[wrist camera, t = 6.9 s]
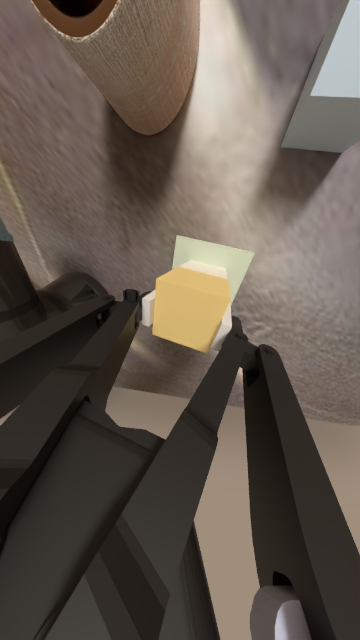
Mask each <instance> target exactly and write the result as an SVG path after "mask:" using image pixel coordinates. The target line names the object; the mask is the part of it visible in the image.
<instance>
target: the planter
mask: <svg viewBox="0 0 360 640" xmlns="http://www.w3.org/2000/svg"><path fill="white" fill-rule="evenodd" d="M30 2H31V3H32V5H33V6H34V8H35V10H36V11H37V12H38V14H39V15H40V16H41V18H42V19H43V20H44V22H45V23H46V24H47V26H48V27H49V28H50V29H51V31H52V32H53V33H54V34H55V35H56V37H57V38H58V39H59V40H60V42H61V43H62V44H63V45H64V47H65V48H66V49H67V50H68V52H69V53H70V54H71V55H72V57H73V58H74V59H75V60H76V62H77V63H78V64H79V65H80V67H81V68H82V69H83V70H84V72H85V73H86V74H87V75H88V77H89V78H90V79H91V80H92V82H93V83H94V84H95V85H96V87H97V88H98V89H99V91H100V92H101V93H102V94H103V96H104V97H105V98H106V99H107V101H108V102H109V103H110V105H111V106H112V107H113V108H114V110H115V111H116V112H117V113H118V115H119V116H120V117H121V118H122V120H123V121H124V122H125V123H126V124H127V125H128V126H129V127H130V128H132V129H133V130H134V131H136V132H138V133H140V134H143V135H154V134H157V133H159V132H161V131H163V130H164V129H165V128H166V127H168V126H169V125H170V123H171V122H172V121H173V120H174V119H175V117H176V116H177V114H178V113H179V111H180V109H181V107H182V105H183V103H184V101H185V99H186V96H187V94H188V91H189V88H190V85H191V81H192V78H193V74H194V70H195V65H196V59H197V53H198V45H199V31H200V2H199V0H30Z"/></svg>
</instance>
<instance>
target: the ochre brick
mask: <svg viewBox="0 0 360 640" xmlns="http://www.w3.org/2000/svg"><path fill="white" fill-rule="evenodd" d="M230 300H231V295H230V286H229V279H225V278H221V277H217V276H213V275H209V274H205V273H201V272H197V271H193V270H189V269H186V268H182V267H177V268H175V269H173V270H171V271H169V272H168V273H166V274H164V275H162V276H160V277H158V278H156V290H155V305H154V320H153V335H156V336H159V337H161V338H164V339H167V340H170V341H173V342H176V343H179V344H182V345H184V346H187V347H190V348H193V349H196V350H199V351H202V352H204V353H208V350H209V348H210V346H211V344H212V340H213V338H214V335H215V333H216V331H217V329H218V326H219V324H220V322H221V320H222V318H223V316H224V314H225V312H226V310H227V307H228V305H229V303H230Z"/></svg>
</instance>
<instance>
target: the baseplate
mask: <svg viewBox="0 0 360 640" xmlns="http://www.w3.org/2000/svg"><path fill="white" fill-rule="evenodd" d="M254 253H255V252H251V251H246V250H242V249H237V248H233V247H228V246H224V245H219V244H215V243H210V242H206V241H201V240H197V239H192V238H187V237H183V236H178V235H177V238H176V245H175V252H174V259H173V267H172V270H173V269H175V268H177V267H182V268H186V269H189V270H193V271H197V272H201V273H205V274H209V275H213V276H217V277H221V278H225V279H229V286H230V295H231V300H230V306H231V304H232V302H233V300H234V297H235V295H236V293H237V291H238V289H239V286H240V284H241V282H242V280H243V278H244V275H245V273H246V271H247V269H248V267H249V264H250V262H251V260H252V258H253V256H254Z"/></svg>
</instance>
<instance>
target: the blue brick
mask: <svg viewBox="0 0 360 640" xmlns="http://www.w3.org/2000/svg"><path fill="white" fill-rule="evenodd" d="M358 140H360V0H340V2H339V5H338V7H337V9H336V11H335V13H334V15H333V17H332V19H331V21H330V23H329V25H328V28H327V30H326V32H325V34H324V36H323V39H322V41H321V44H320V46H319V49H318V52H317V54H316V57H315V59H314V62H313V64H312V67H311V70H310V72H309V75H308V77H307V80H306V82H305V85H304V88H303V90H302V93H301V95H300V98H299V100H298V103H297V105H296V108H295V111H294V113H293V116H292V118H291V121H290V123H289V126H288V129H287V131H286V134H285V136H284V139H283V141H282V144H281V147H285V148H295V149H306V150H316V151H326V152H337V153H343V152H344V151H345V150H347V149H348V148H349V147H350V146H352V145H353V144H354V143H356V142H357V141H358Z"/></svg>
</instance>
